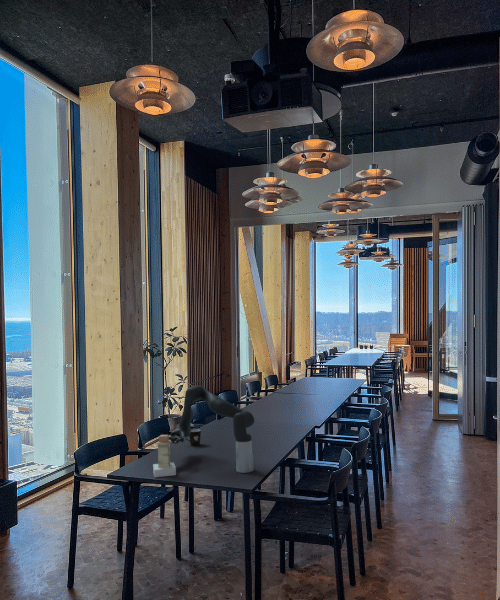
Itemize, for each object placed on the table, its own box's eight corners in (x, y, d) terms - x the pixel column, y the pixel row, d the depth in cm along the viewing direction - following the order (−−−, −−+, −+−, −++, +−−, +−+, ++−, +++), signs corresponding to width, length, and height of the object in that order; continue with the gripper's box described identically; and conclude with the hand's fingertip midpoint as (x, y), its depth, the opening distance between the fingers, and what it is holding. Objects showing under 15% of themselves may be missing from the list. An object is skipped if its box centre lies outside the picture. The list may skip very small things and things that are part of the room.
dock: (173, 469, 289) (173, 462, 290) (175, 475, 278) (175, 467, 278) (153, 471, 286) (153, 464, 287) (154, 477, 275) (154, 470, 275)
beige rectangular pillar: (160, 464, 286) (159, 440, 287) (171, 464, 285) (170, 439, 286) (157, 467, 279) (156, 442, 280) (168, 467, 279) (167, 442, 280)
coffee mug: (202, 443, 350) (202, 429, 351) (200, 446, 342) (199, 431, 342) (186, 443, 352) (186, 429, 352) (183, 446, 343) (183, 432, 343)
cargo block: (161, 440, 286) (161, 434, 286) (168, 440, 285) (168, 434, 285) (159, 442, 281) (158, 436, 281) (166, 442, 281) (166, 436, 281)
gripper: (165, 430, 308) (157, 436, 292) (187, 429, 307) (181, 435, 291) (165, 442, 308) (158, 448, 292) (187, 441, 306) (181, 448, 290)
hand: (169, 442), depth 291 cm, fingers open, 8 cm apart
